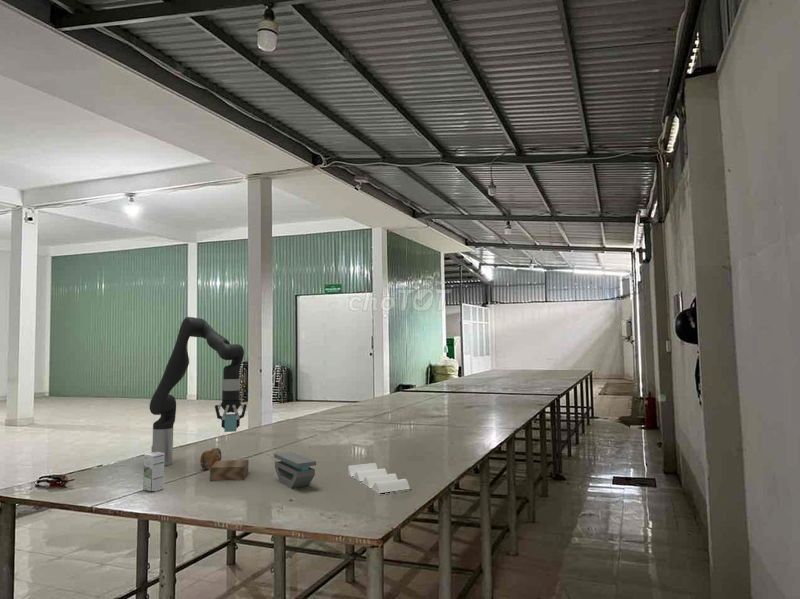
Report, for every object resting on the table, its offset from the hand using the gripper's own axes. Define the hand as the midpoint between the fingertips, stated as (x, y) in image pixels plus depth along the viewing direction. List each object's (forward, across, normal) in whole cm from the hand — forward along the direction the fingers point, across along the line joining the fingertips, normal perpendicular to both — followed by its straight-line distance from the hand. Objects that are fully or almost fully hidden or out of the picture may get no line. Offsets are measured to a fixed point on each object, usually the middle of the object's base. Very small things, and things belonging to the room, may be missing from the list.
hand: (230, 427), depth 246 cm
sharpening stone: (+21, -26, +21) cm, 40 cm away
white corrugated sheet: (+22, -60, +30) cm, 70 cm away
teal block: (+1, 0, 0) cm, 1 cm away
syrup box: (+21, +29, +14) cm, 39 cm away
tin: (+21, +9, -22) cm, 32 cm away
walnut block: (+21, 0, 0) cm, 21 cm away
